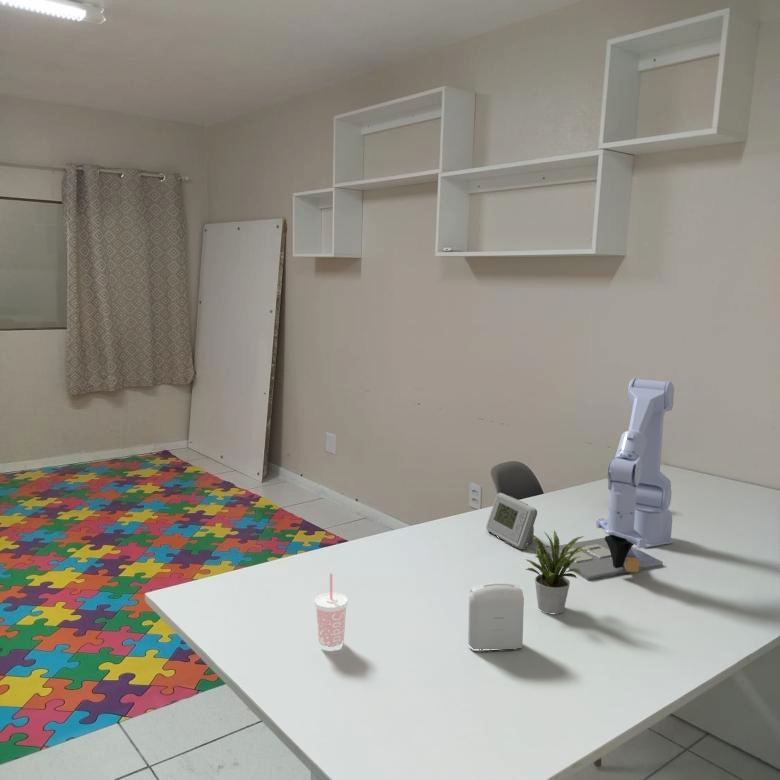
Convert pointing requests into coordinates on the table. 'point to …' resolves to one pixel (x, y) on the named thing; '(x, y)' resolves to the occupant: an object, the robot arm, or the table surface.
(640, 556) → the grey lever board
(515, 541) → the digital clock
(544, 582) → the house plant
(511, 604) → the photo printer
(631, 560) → the swing bar
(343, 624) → the beverage cup
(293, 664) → the table surface
